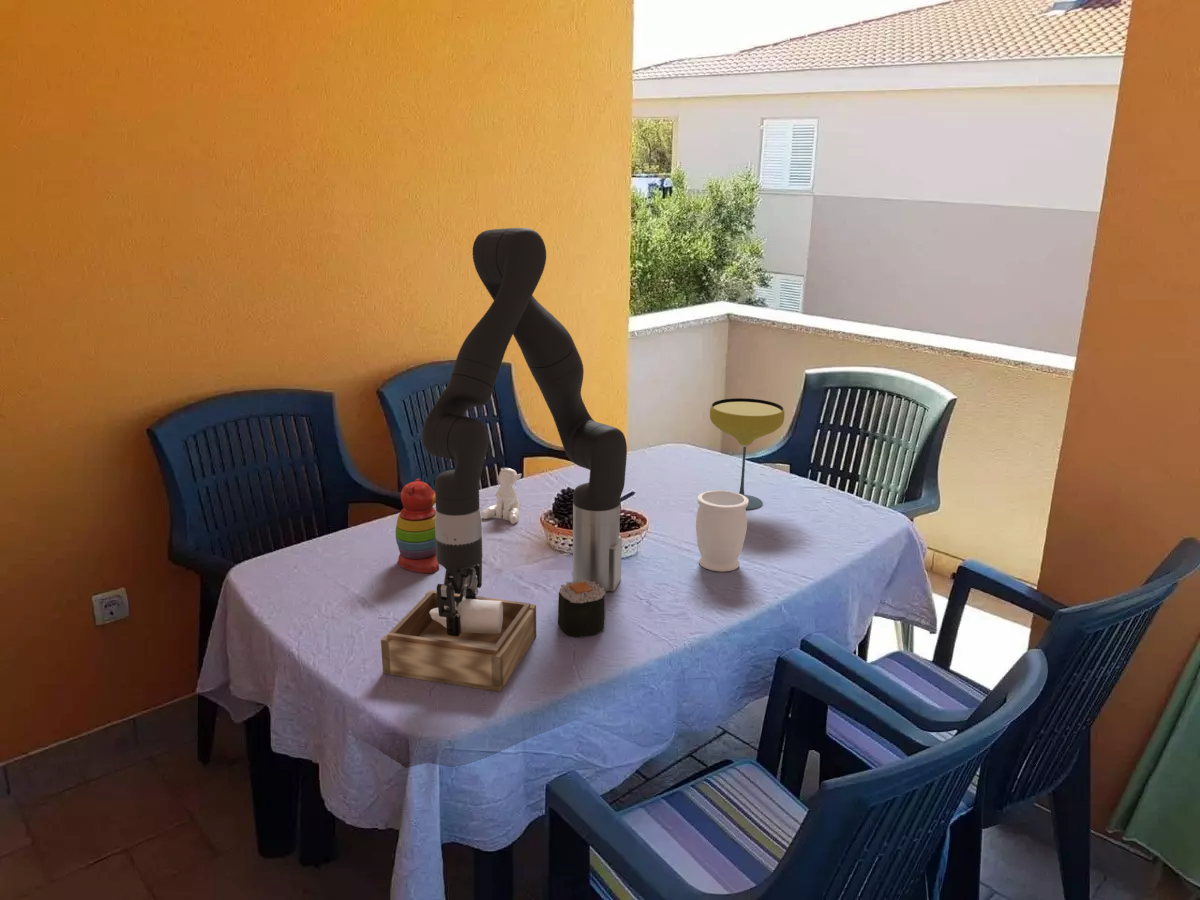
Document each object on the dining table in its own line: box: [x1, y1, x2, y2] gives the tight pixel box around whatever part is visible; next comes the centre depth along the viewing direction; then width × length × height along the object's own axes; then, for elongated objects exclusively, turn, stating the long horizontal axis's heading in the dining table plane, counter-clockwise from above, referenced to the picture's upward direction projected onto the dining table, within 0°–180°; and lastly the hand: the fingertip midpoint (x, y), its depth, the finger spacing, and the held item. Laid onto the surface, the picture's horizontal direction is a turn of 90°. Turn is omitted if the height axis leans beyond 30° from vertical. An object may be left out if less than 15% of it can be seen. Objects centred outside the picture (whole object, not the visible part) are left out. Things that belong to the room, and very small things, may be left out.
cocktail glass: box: [709, 397, 785, 511], centre depth 220 cm, size 18×18×25 cm
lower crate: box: [380, 590, 537, 693], centre depth 150 cm, size 20×18×6 cm
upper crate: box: [386, 590, 531, 654], centre depth 150 cm, size 19×17×6 cm
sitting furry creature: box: [480, 467, 522, 525], centre depth 211 cm, size 10×9×12 cm
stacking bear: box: [395, 478, 440, 574], centre depth 185 cm, size 11×10×18 cm
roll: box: [429, 599, 503, 634], centre depth 149 cm, size 6×12×6 cm, turn 87°
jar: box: [695, 489, 749, 573], centre depth 186 cm, size 11×10×15 cm
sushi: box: [557, 579, 606, 638], centre depth 160 cm, size 8×8×8 cm
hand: (462, 624), depth 150 cm, fingers closed on roll, 6 cm apart
